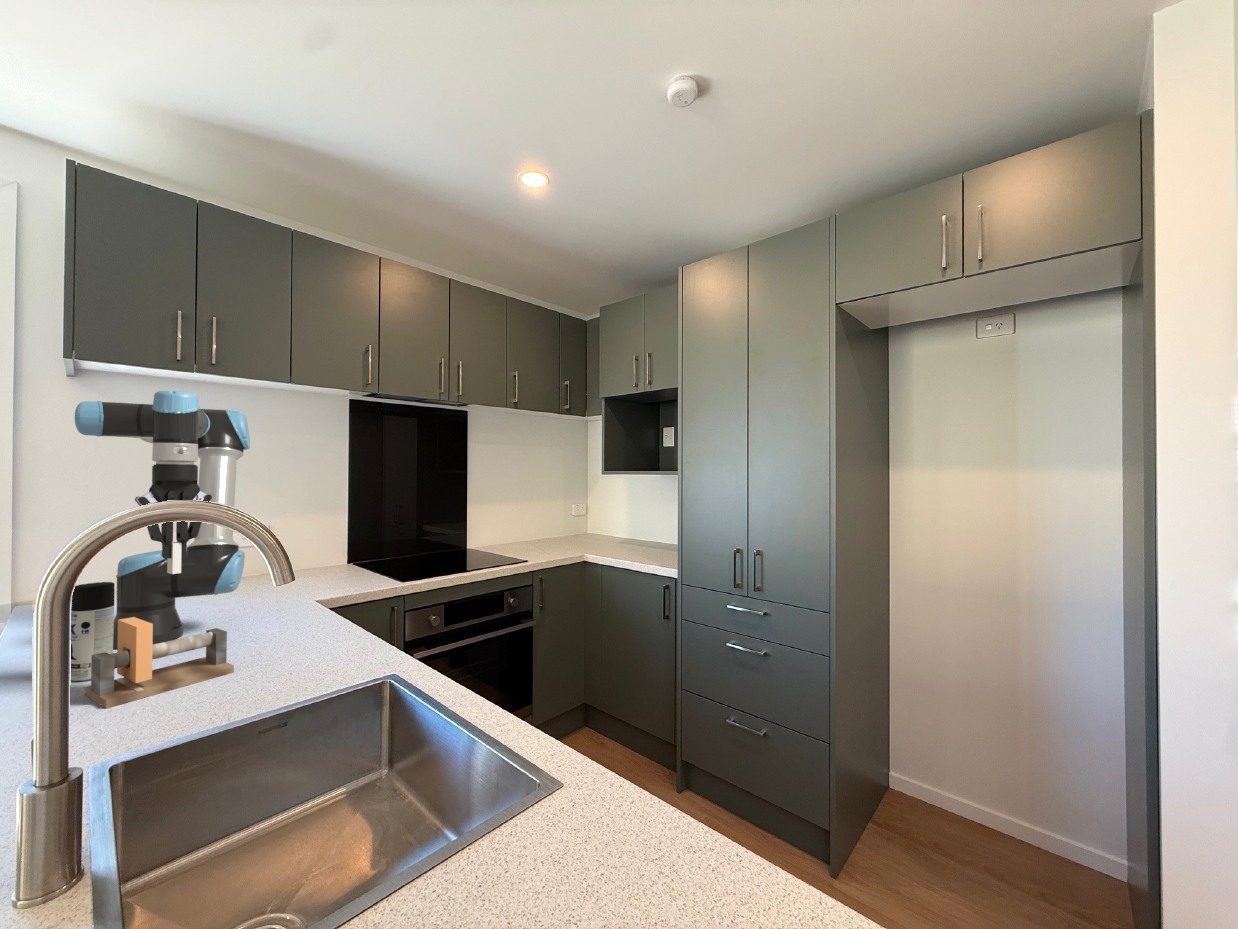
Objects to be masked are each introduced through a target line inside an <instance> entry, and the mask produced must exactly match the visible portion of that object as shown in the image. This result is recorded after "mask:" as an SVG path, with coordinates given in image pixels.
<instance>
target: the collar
mask: <svg viewBox="0 0 1238 929" xmlns="http://www.w3.org/2000/svg"><path fill="white" fill-rule="evenodd" d="M152 645H153V624H152V623H149V622H146V621H144V620H141V619H138V618H135V617H131V618H125V619H120V620H118V645H117V649H116V650H117V651H116V653H117V652H122V651H125V650H127V649H130V666H124V667H120V668H116V673H117V675H119V676H121V677H122V678H123V677H125V678H127V679H129V680H131V681H133V682H135V683H138V682H142V681H146V680H149V679H152V670H153V660H152Z"/></svg>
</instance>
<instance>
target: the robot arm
mask: <svg viewBox="0 0 1238 929" xmlns="http://www.w3.org/2000/svg"><path fill="white" fill-rule="evenodd" d="M199 404H200V403H199V397H198V395H197V394H195V393H193V392H192V393H191V392H188V391H178V390H158V391H155V393H154V394H153V401H152V403H130V402H127V403H126V402H112V401H102V400H98V401H89V400H88V401H81V402H80V403H78V404H77V406H76V408H75V411H74V424H75V427H76V430H77V431H78V433H79V434H81V435H83V436H93V437H116V438H133V439H140V440H142V441H144V442H146V443H149V444H152V457H151V459H152V462H155V464H153V465H151V467H152V468H151V483H152V484H151V485H150V487H149V489H148V491H147V493H144V494H142V495H141V496H139V495H138V496H136V497H135V498H134V501H135V503H136V504H137V505H138V506H139V507H140V506H141V505H146V504H148V503H151V504H153V502H154V500H155V501H156V502H157V503H158V502H162V501H167V500H192V501H193V500H194V499H195V501H196V500H203V501H208V502H209V501H211V502H217V503H222V504H225V505H228V506H231V507H234V508H235V502H236V501H235V499H236V498H235V497H236V483H237V482H236V480H237V465H238V464H237V461H238V460H240V459H241V458H242V457H243V456H244V450H245V451H247V450H250V449H251V439H250V431H249V425H248V421H247V417H246V415H245V414H244V412H242V411H240V410H230V409H212V408H211V409H209V408H207V409H206V408H200V407H201V406H200V405H199ZM199 459H200V461H199ZM198 461H199V466H198V465H197V464H195V463H197V462H198ZM153 498H154V500H153ZM175 522H176V521H175ZM160 528H161V530H160ZM146 529H147V532H148V536H149V539H150V540H151V541H154V542H159V543H161V550H154V551H148V552H143V553H138V554H134V555H133V554H132V555H129V556H126V557H123V558H122V559H120V561H118V564H117V570H116V571H117V574H116V575H115V578H116V614H115V616H114V631H113V650H114V649H116V650H117V645H118V620H120V619H125V618H131V617H135V618H138V619H141V620H144V621H146V622H149V623H152V624H153V645H154V644H158V643H163V642H167V641H172V640H176V639H180V637H182V636H183V635H184V624H183V622H182V620H181V618H180V616H179V615H180V614H179V613H178V611H177V608H176V599H177V598H186V597H187V598H189V597H190V598H191V597H198V596H199V597H200V596H211V595H212V596H213V595H215V596H217V595H220V594H226V593H227V594H228V593H232V592H234V591H236V590H237V589H238V587H239V585H240V583H241V580H242V576H243V571H244V566H245V558H246V553H245V551H244V550H241V549H240V550H239V548H240V547H239V546H240V544H238V543H237V542H236V541H235V540H234V530H233V531H232V530H229V529H225V528H224V527H220V526H216V525H214V524H207V523H202V522H189V521H188V522H185V521H181V522H176V527H175V530H176V531H175V532H176V534H175V536H176V537H175V539H176V541H174V521H173V522H166V523H163V524H161V526H159V523H158V524H155V525H152V526H148V527H147V526H146ZM192 539H194V540H193V541H192V542H191V543H190V544H189V545H187V544H188V542H189V541H190V540H192Z"/></svg>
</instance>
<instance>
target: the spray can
mask: <svg viewBox="0 0 1238 929" xmlns="http://www.w3.org/2000/svg"><path fill="white" fill-rule="evenodd" d="M74 586H75V589H74V592H73V595H72V594H71V607H70V611H71V612H70V640H71V680H70V682H73V683H78V682H77V681H83V682H89V680H90V681H91V664H92V655H94V654H99V653H104V652H106V653H108V654H113V653H114V648H113V631H114V619H115V582H112V581H103V582H102V581H101V582H98V581H97V582H92V583H91V582H90V583H83V584H77V585H74ZM75 681H76V682H75Z"/></svg>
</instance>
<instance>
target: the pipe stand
mask: <svg viewBox="0 0 1238 929" xmlns="http://www.w3.org/2000/svg"><path fill="white" fill-rule="evenodd" d="M227 641H228V632H227V630H223V629H220V628H217V627H216V628H210V629H206V631H205V633H200V634H195V635H191V636H186V637H182V638H176V639H174V640H171V641H167V642H163V643H158V644H154V645H152V661H153V660H156V659H160V658H164V657H170V656H173V655H177V654H182V653H186V652H190V651H195V650H198V649H204V648H205V656H204V657H203V656H202V657H199V658H196V659H192V660H191V659H190V660H188V661H183V662H180V663H175V664H171V665H167V666H163V667H159V668H155V669H152V679H149V680H146V681H142V682H138V683H135V682H133V681H131V680H129V679H127V678H125V677H123V676H122V677H118V678H115V669H117V668H120V667H124V666H130V649H127V650H125V651H122V652H117V651H116V652H113V654H108V653H106V652H104V653H99V654H94V655H92V664H91V680H90V685H89V686H85V687H84V695H85V696H86V697H87V698H89V697H90V699H91V700H93V701H94V702H95V703H97V704H99V705H101V706H102V707H103V708H105V709H108V708H110V709H111V708H113V707H116V706H119V705H123V704H126V703H131V702H134V701H137V700H142V699H144V698H148V697H151V696H154V695H155V696H156V695H158V694H162V693H166V692H169V691H173V690H177V689H179V688H182V687H183V688H184V687H186V686H190V685H194V684H198V683H200V682H204V681H208V680H211V679H214V678H215V679H216V678H218V677H222V676H225V675H228V674H233V673H234V672H235V671H234V670H235V665H234V664H231V663H228V662H227V651H228V650H227V649H228V647H227V646H228V645H227V644H228V642H227Z"/></svg>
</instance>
